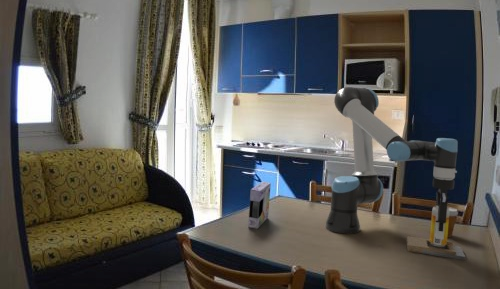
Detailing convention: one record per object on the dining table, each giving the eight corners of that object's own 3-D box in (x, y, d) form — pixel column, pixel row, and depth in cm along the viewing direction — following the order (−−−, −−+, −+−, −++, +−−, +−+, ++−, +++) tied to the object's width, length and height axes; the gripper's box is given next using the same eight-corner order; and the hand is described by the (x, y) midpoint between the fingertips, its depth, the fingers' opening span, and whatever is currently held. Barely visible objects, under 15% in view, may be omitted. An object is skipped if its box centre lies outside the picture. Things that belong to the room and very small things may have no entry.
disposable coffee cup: (458, 239, 169) (461, 212, 168) (435, 237, 171) (437, 210, 170) (452, 232, 178) (454, 207, 177) (429, 230, 180) (432, 205, 179)
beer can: (446, 243, 155) (449, 206, 153) (446, 248, 149) (450, 210, 148) (429, 240, 157) (432, 204, 156) (429, 245, 152) (432, 207, 150)
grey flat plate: (421, 253, 150) (422, 250, 150) (420, 243, 161) (420, 240, 161) (465, 260, 145) (465, 256, 145) (460, 249, 156) (460, 246, 156)
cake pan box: (257, 229, 170) (259, 190, 168) (246, 228, 172) (248, 188, 170) (269, 218, 188) (271, 182, 186) (259, 217, 190) (261, 181, 188)
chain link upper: (407, 250, 152) (407, 244, 152) (406, 241, 163) (407, 236, 163) (455, 258, 146) (456, 252, 146) (451, 248, 157) (451, 242, 157)
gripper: (458, 183, 141) (452, 245, 143) (451, 175, 158) (446, 230, 161) (435, 181, 143) (430, 242, 145) (431, 173, 161) (426, 228, 163)
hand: (438, 236), depth 153 cm, fingers closed on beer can, 6 cm apart
